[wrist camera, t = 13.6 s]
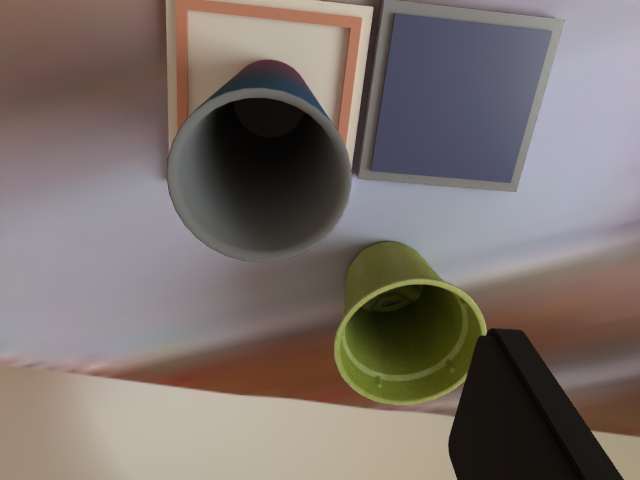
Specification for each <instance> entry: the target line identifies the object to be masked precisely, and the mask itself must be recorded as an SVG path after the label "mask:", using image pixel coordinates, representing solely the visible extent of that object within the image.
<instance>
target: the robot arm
mask: <svg viewBox="0 0 640 480" xmlns="http://www.w3.org/2000/svg"><path fill="white" fill-rule="evenodd" d="M448 447H449V455H450V459H451V462H452V465H453V468H454V471H455V474H456V477H457V480H624V479H623V478H622V476H621V475H620V473H619V472H618V470H617V469H616V468H615V466H614V465H613V463H612V462H611V460H610V459H609V457H608V456H607V454H606V453H605V451H604V450H603V449H602V447H601V445H600V444H599V442H598V441H597V439H596V438H595V437H594V435H593V434H592V432H591V431H590V429H589V428H588V426H587V425H586V423H585V422H584V420H583V419H582V417H581V416H580V414H579V413H578V411H577V410H576V408H575V407H574V406H573V404H572V403H571V401H570V400H569V398H568V397H567V395H566V394H565V392H564V391H563V389H562V388H561V386H560V385H559V383H558V382H557V380H556V379H555V377H554V376H553V375H552V373H551V372H550V370H549V369H548V367H547V366H546V364H545V363H544V361H543V360H542V358H541V357H540V355H539V354H538V352H537V351H536V349H535V348H534V346H533V345H532V343H531V342H530V341H529V339H528V338H527V336H526V335H525V333H524V332H523V331H521V330H513V329H496V328H492V329H489V331H488V332H487V334H486V335H481V336H479V338H478V339H477V342H476V345H475V349H474V352H473V356H472V359H471V363H470V366H469V370H468V373H467V377H466V380H465V384H464V387H463V391H462V394H461V398H460V401H459V405H458V408H457V412H456V415H455V419H454V422H453V426H452V429H451V433H450V436H449V444H448Z"/></svg>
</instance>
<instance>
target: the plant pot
mask: <svg viewBox="0 0 640 480" xmlns="http://www.w3.org/2000/svg"><path fill="white" fill-rule="evenodd" d="M396 300H400V301H399V303H397V304H394V305H391V306H383V305H382V304H383V303H385V302H391V301H396ZM486 334H487V330H486V324H485V320H484V318H483V315H482V313H481V311H480V309H479V308H478V306H477V305H476V303H475V302H474V301H473V299H472V298H471V297H470V296H469V295H467V294H466V293H465V292H464V291H463V290H461V289H460V288H458V287H456V286H455V285H453V284H450V283H448V282H445V281H443V280H442V279H441V278H440V277H439V276H438V275H437V274H436V273H435V272H434V270H433V269H432V268H431V267H430V266H429V265H428V263H427V262H426V261H425V260H424V259H423V258H422V257H421V255H420V254H419V253H418V252H417V251H415V250H414V249H412V248H410V247H408V246H406V245H404V244H402V243H398V242H381V243H377V244H374V245H371V246H369V247H367V248H365V249H364V250H362V251H361V252H360V253H359V254H358V256H357V257H356V258H355V260H354V261H353V262H352V264H351V265H350V267H349V268H348V271H347V275H346V297H345V315H344V316H343V318H342V320H341V321H340V323H339V326H338V328H337V331H336V334H335V339H334V357H335V362H336V365H337V368H338V370H339V372H340V374H341V376H342V378H343V379H344V380H345V381H346V382H347V384H348V385H349V386H350V387H351V388H352V389H354V390H355V391H356V392H357V393H359V394H361V395H362V396H364V397H366V398H368V399H370V400H373V401H376V402H380V403H386V404H392V405H413V404H418V403H424V402H428V401H431V400H434V399H436V398H438V397H441V396H443V395H445V394H448V393H449V392H451V391H452V390H454V389H456V388H457V387H458V386H459V385H461V384H462V383H463V382H464V381H465V380H466V377H467V373H468V370H469V366H470V363H471V359H472V356H473V352H474V349H475V345H476V342H477V339H478V338H479V336H481V335H486Z"/></svg>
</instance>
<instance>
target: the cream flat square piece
mask: <svg viewBox="0 0 640 480" xmlns="http://www.w3.org/2000/svg"><path fill="white" fill-rule="evenodd" d="M373 8H374V7H371V6H363V5H354V4H345V3H336V2H328V1H319V0H166V33H167V83H168V133H169V152H170V148H171V145H172V142H173V140H174V138H175V136H176V134H177V132H178V130H179V128H180V126H181V125H182V124H183V123H184V122H185V120H186V119H187V118H188V117H189V116H190V114H191V113H192V112H193V111H194V110H196V109H197V108H198V107H199V106H200V105H201V104H202V103H204V102H205V101H206V100H207V99H208V98H209V97H211V96H212V95H213V94H214V93H215V92H216V91H218V90H219V89H220V88H221V87H222V86H223V85H225V84H226V83H227V82H228V81H229V80H230V79H232V78H233V77H234V76H235V75H236V74H237V73H239V72H240V71H241V70H242V69H244V68H245V67H246V66H247V65H249V64H251V63H253V62H256V61H260V60H277V61H281V62H283V63H286V64H288V65H289V66H291V67H292V68H294V69H295V70H296V71H297V72H298V73H299V74H300V75H301V77H302V78H303V80H304V81H305V83H306V84H307V86H308V87H309V89H310V90H311V92H312V93H313V95H314V96H315V98H316V99H317V101H318V102H319V104H320V105H321V107H322V108H323V110H324V111H325V113H326V114H327V116H328V117H329V119H330V120H331V122H332V123H333V125H334V126H335V128H336V129H337V131H338V132H339V134H340V135H341V137H342V139H343V142H344V144H345V146H346V149H347V151H348V155H349V159H350V164H351V169H352V162H353V155H354V147H355V140H356V133H357V125H358V118H359V111H360V103H361V96H362V89H363V82H364V74H365V67H366V60H367V52H368V45H369V38H370V30H371V23H372V16H373Z"/></svg>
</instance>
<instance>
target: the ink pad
mask: <svg viewBox="0 0 640 480" xmlns="http://www.w3.org/2000/svg"><path fill="white" fill-rule="evenodd" d="M564 22H565V20H562V19H554V18H545V17H537V16H528V15H520V14H511V13H502V12H494V11H485V10H477V9H468V8H460V7H451V6H442V5H434V4H425V3H417V2H408V1H400V0H381V7H380V14H379V21H378V28H377V35H376V42H375V49H374V56H373V63H372V71H371V78H370V85H369V92H368V99H367V106H366V113H365V120H364V127H363V134H362V141H361V148H360V155H359V162H358V169H357V176H358V179H365V180H377V181H389V182H401V183H413V184H425V185H437V186H449V187H461V188H473V189H485V190H497V191H509V192H516V191H517V187H518V184H519V180H520V177H521V173H522V170H523V166H524V163H525V159H526V156H527V152H528V148H529V145H530V141H531V138H532V134H533V131H534V127H535V124H536V120H537V117H538V113H539V110H540V106H541V103H542V99H543V96H544V92H545V89H546V85H547V81H548V78H549V74H550V71H551V67H552V64H553V60H554V57H555V53H556V50H557V46H558V43H559V39H560V36H561V32H562V29H563V25H564Z"/></svg>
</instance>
